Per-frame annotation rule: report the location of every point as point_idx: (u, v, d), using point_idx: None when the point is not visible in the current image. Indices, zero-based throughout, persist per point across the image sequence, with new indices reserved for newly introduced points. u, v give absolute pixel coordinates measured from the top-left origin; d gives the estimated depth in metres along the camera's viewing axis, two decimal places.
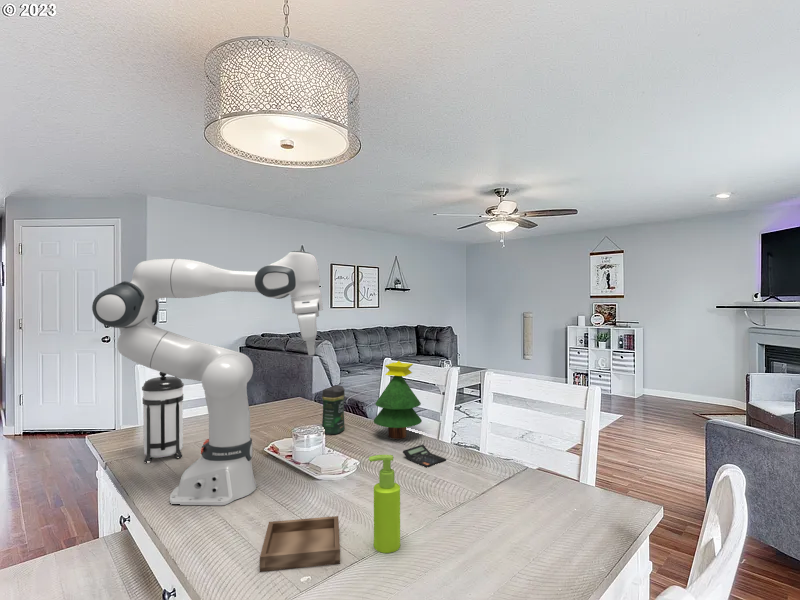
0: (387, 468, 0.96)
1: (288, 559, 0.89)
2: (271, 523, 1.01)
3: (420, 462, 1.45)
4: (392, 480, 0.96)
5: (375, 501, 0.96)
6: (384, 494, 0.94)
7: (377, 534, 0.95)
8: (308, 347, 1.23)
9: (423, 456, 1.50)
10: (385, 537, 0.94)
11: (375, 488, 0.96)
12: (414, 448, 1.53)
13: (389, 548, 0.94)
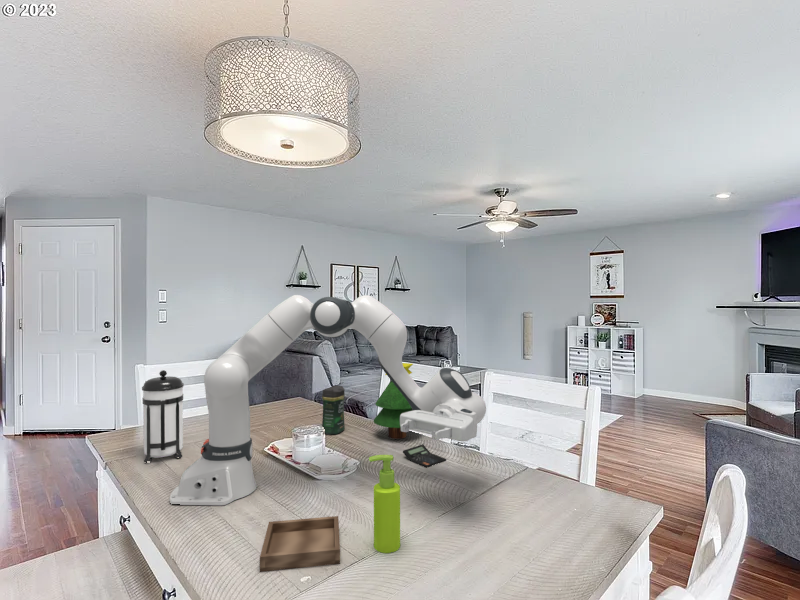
0: (387, 468, 0.96)
1: (288, 559, 0.89)
2: (271, 523, 1.01)
3: (420, 462, 1.45)
4: (392, 480, 0.96)
5: (375, 501, 0.96)
6: (384, 494, 0.94)
7: (377, 534, 0.95)
8: (443, 432, 1.05)
9: (423, 456, 1.50)
10: (385, 537, 0.94)
11: (375, 488, 0.96)
12: (414, 448, 1.53)
13: (389, 548, 0.94)
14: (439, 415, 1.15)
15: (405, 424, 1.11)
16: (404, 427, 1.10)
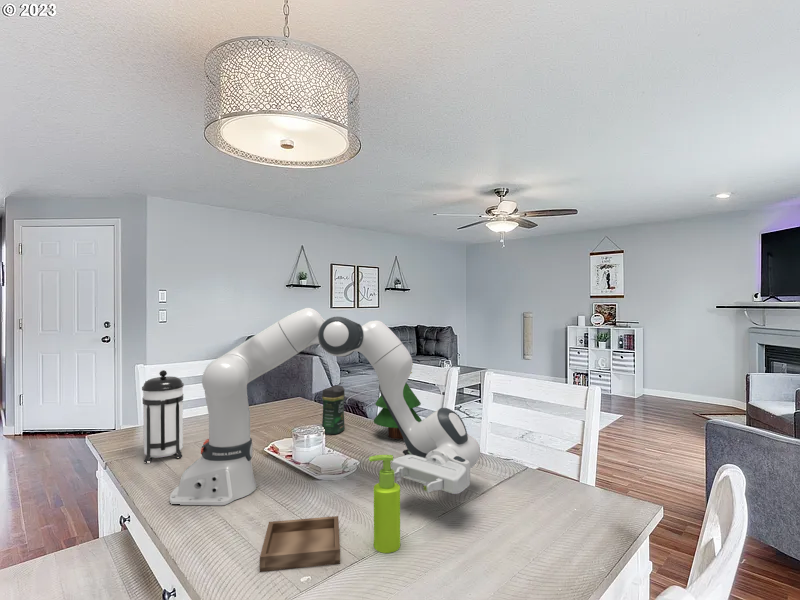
0: (387, 468, 0.96)
1: (288, 559, 0.89)
2: (271, 523, 1.01)
3: None
4: (392, 480, 0.96)
5: (375, 501, 0.96)
6: (384, 494, 0.94)
7: (377, 534, 0.95)
8: (435, 484, 1.03)
9: None
10: (385, 537, 0.94)
11: (375, 488, 0.96)
12: None
13: (389, 548, 0.94)
14: (432, 462, 1.13)
15: (396, 473, 1.08)
16: (395, 476, 1.07)
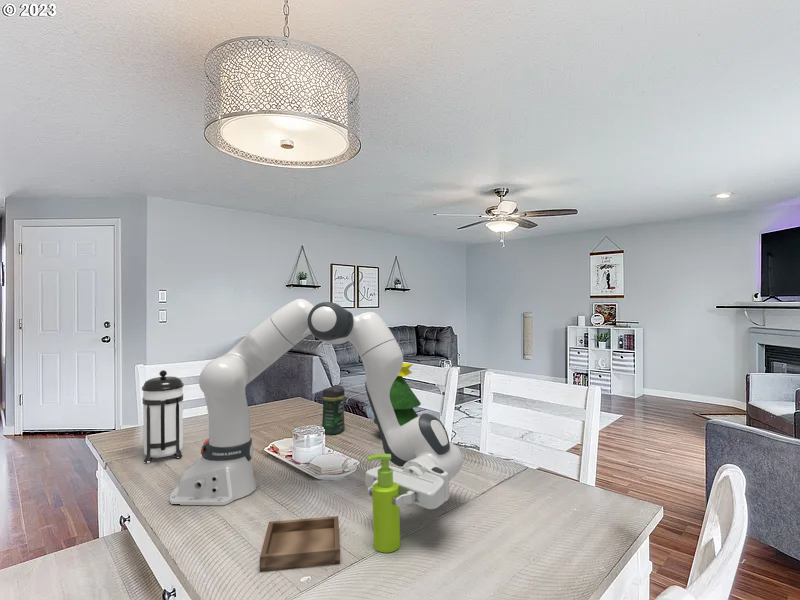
0: (385, 467, 0.97)
1: (288, 559, 0.89)
2: (271, 523, 1.01)
3: None
4: (390, 479, 0.96)
5: (374, 500, 0.96)
6: (383, 493, 0.95)
7: (376, 533, 0.95)
8: (405, 497, 0.95)
9: None
10: (385, 537, 0.94)
11: (374, 487, 0.97)
12: None
13: (389, 547, 0.94)
14: (408, 474, 1.05)
15: None
16: (371, 491, 0.98)
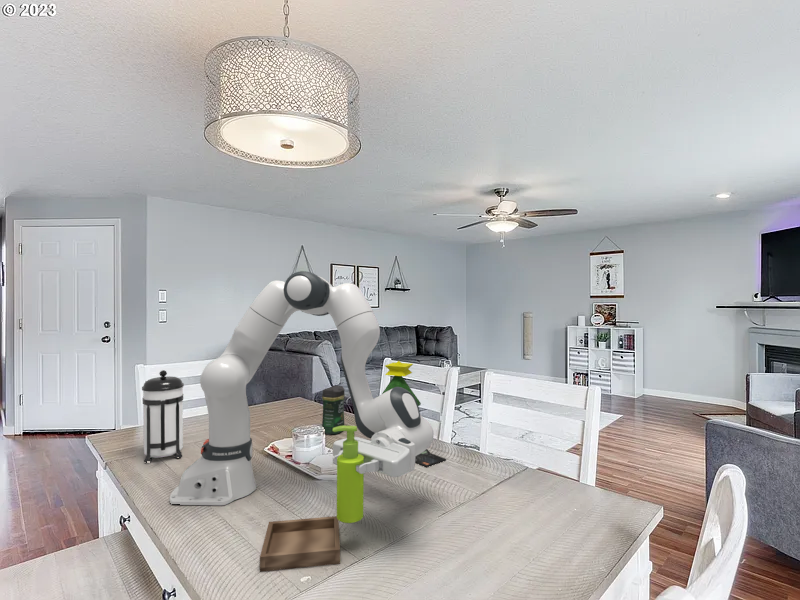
0: (350, 439, 0.96)
1: (288, 559, 0.89)
2: (271, 523, 1.01)
3: (420, 462, 1.45)
4: (355, 451, 0.96)
5: (338, 471, 0.95)
6: (347, 464, 0.94)
7: (339, 504, 0.95)
8: (369, 465, 0.95)
9: (423, 456, 1.50)
10: (347, 507, 0.94)
11: (338, 458, 0.96)
12: None
13: (351, 518, 0.94)
14: (375, 444, 1.04)
15: None
16: (336, 460, 0.98)
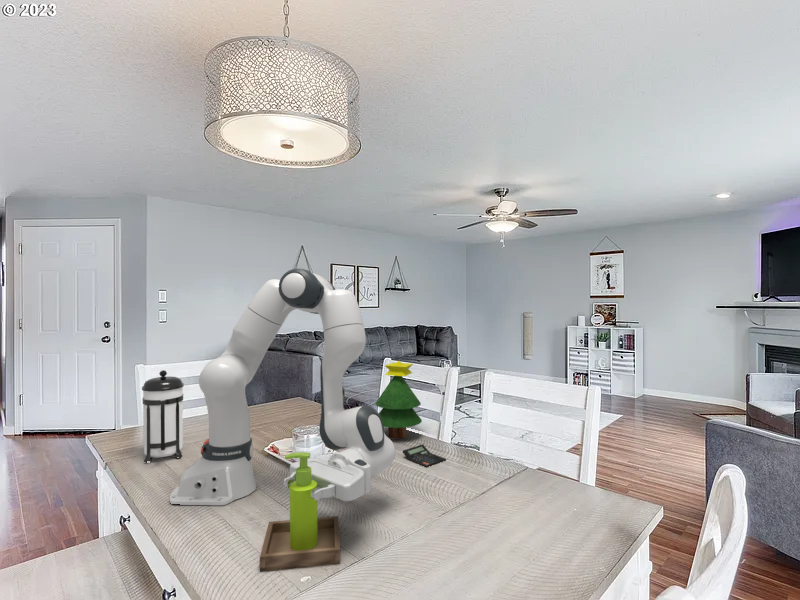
0: (303, 466, 0.96)
1: (288, 559, 0.89)
2: (271, 523, 1.01)
3: (420, 462, 1.45)
4: (308, 478, 0.95)
5: (290, 499, 0.95)
6: (298, 492, 0.94)
7: (292, 532, 0.95)
8: (325, 490, 0.94)
9: (423, 456, 1.50)
10: (300, 535, 0.94)
11: (291, 486, 0.96)
12: (414, 448, 1.53)
13: (303, 546, 0.94)
14: (332, 466, 1.04)
15: (289, 478, 0.99)
16: (287, 482, 0.98)
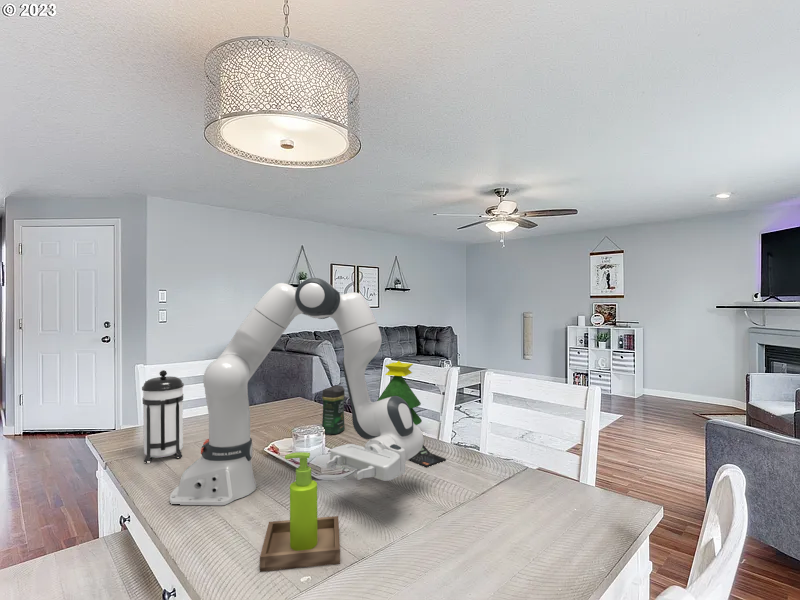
0: (303, 466, 0.96)
1: (288, 559, 0.89)
2: (271, 523, 1.01)
3: (420, 462, 1.45)
4: (308, 478, 0.96)
5: (290, 499, 0.95)
6: (298, 492, 0.94)
7: (292, 532, 0.95)
8: (366, 471, 1.04)
9: (422, 456, 1.50)
10: (299, 535, 0.94)
11: (291, 486, 0.96)
12: None
13: (303, 546, 0.94)
14: (369, 451, 1.14)
15: (331, 461, 1.09)
16: (330, 464, 1.08)
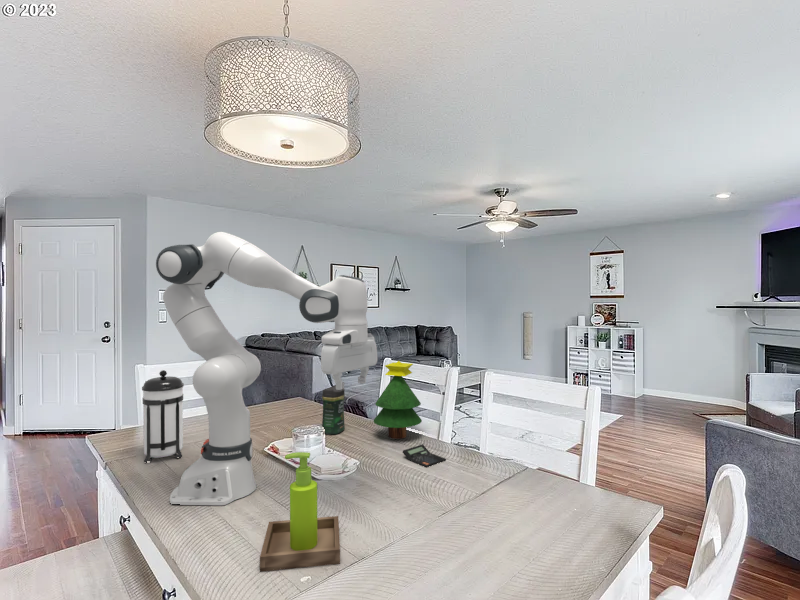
0: (303, 466, 0.96)
1: (288, 559, 0.89)
2: (271, 523, 1.01)
3: (420, 462, 1.45)
4: (308, 478, 0.96)
5: (290, 499, 0.95)
6: (298, 492, 0.94)
7: (292, 532, 0.95)
8: (335, 380, 1.14)
9: (422, 456, 1.50)
10: (299, 535, 0.94)
11: (291, 486, 0.96)
12: (414, 448, 1.53)
13: (303, 546, 0.94)
14: None
15: None
16: None
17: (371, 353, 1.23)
